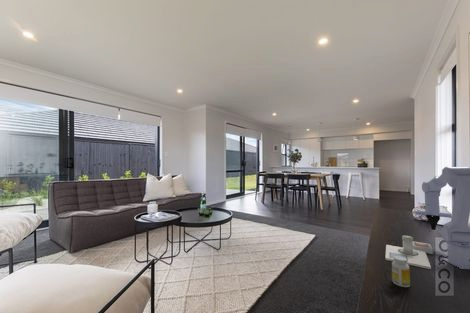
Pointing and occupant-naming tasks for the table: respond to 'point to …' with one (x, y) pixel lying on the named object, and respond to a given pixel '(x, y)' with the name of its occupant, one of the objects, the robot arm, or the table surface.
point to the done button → (421, 244)
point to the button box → (426, 249)
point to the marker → (407, 244)
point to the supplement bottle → (400, 272)
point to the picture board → (408, 256)
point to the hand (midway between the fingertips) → (433, 229)
